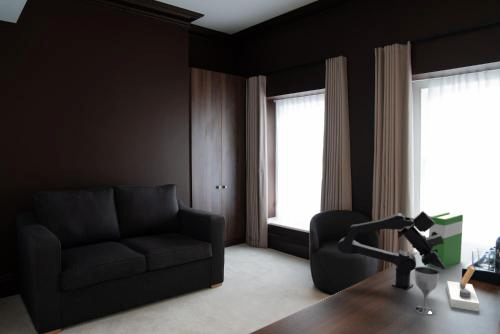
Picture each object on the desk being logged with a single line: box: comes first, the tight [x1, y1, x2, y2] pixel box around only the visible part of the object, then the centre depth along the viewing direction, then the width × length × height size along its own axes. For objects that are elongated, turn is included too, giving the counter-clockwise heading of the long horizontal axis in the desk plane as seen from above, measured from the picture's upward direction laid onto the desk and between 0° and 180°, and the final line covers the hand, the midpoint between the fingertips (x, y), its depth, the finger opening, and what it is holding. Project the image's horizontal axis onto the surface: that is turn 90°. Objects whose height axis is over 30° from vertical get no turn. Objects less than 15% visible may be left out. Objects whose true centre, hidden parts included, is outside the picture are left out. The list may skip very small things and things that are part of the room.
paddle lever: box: [459, 265, 476, 289], centre depth 149 cm, size 2×4×9 cm, turn 158°
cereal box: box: [427, 212, 464, 269], centre depth 186 cm, size 18×7×24 cm, turn 126°
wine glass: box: [414, 266, 440, 316], centre depth 135 cm, size 8×8×15 cm
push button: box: [460, 290, 471, 298], centre depth 141 cm, size 4×4×1 cm
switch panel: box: [446, 280, 480, 312], centre depth 146 cm, size 9×19×3 cm, turn 157°
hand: (444, 268), depth 152 cm, fingers closed
